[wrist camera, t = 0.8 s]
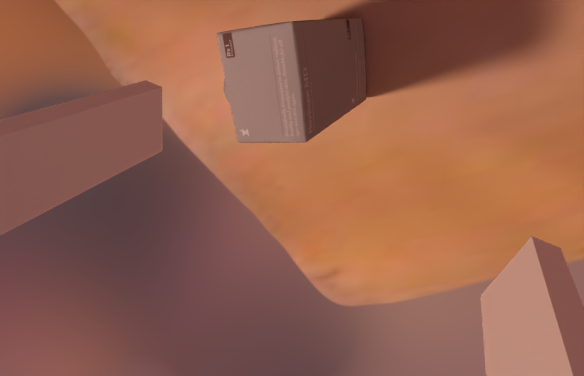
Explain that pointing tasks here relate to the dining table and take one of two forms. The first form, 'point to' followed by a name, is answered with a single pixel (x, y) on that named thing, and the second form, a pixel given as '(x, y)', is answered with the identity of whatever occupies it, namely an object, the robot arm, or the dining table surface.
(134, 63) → the dining table surface
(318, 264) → the dining table surface
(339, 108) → the skincare box
